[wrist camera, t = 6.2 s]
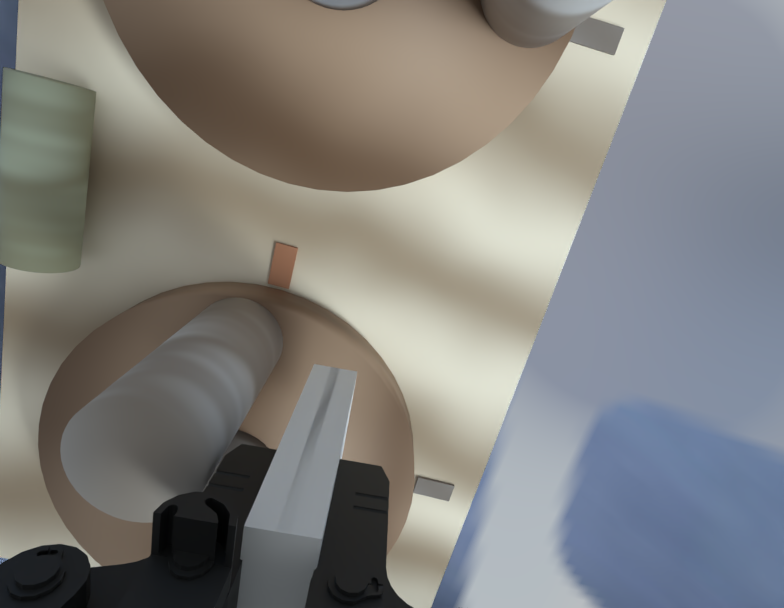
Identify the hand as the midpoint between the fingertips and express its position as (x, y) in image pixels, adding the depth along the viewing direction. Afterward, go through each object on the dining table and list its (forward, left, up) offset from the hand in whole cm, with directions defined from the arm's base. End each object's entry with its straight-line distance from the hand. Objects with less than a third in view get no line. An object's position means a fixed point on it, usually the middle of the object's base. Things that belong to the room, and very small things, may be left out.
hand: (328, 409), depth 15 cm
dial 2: (-5, +3, -5) cm, 8 cm away
